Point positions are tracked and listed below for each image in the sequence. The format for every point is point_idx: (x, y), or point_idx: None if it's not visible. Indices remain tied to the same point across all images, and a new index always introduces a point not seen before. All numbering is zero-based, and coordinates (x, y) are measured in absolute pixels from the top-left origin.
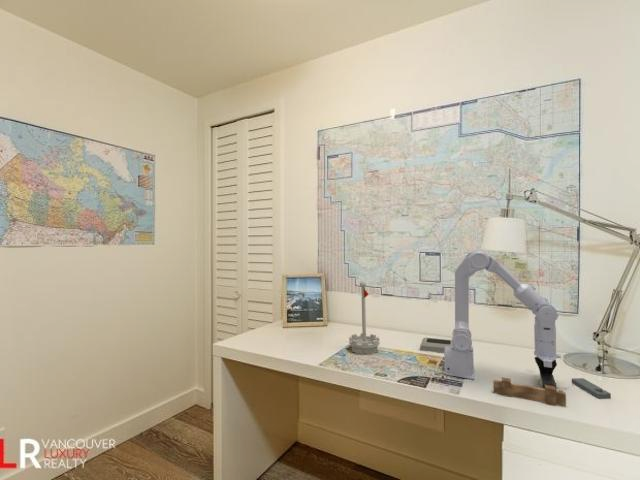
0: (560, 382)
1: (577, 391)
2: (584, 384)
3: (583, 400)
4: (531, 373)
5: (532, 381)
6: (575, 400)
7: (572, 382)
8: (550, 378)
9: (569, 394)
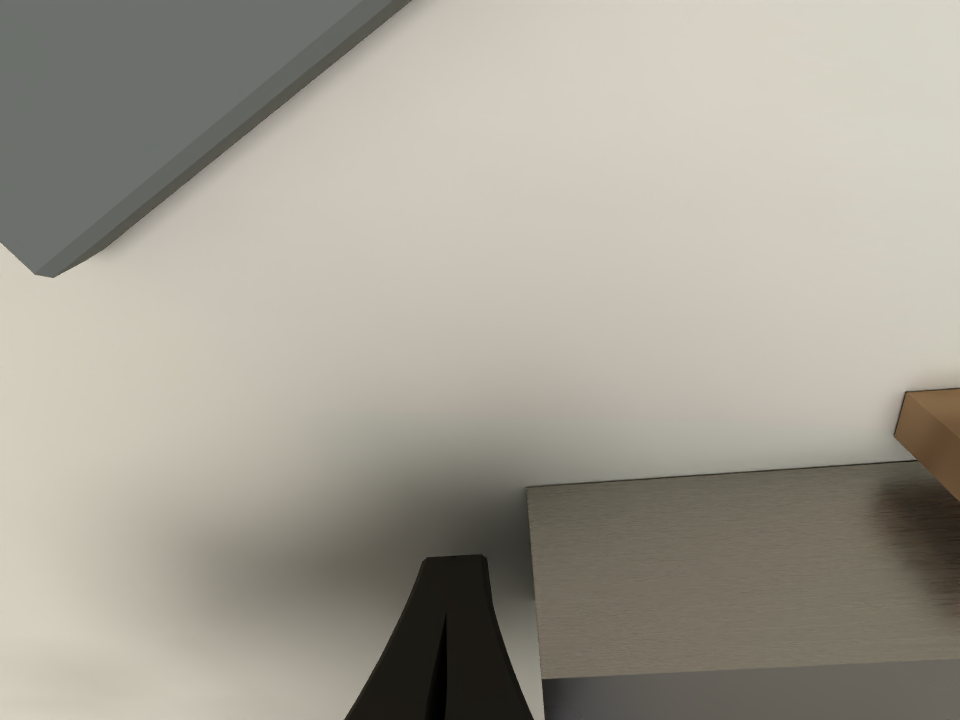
0: (219, 400)
1: (462, 182)
2: (215, 50)
3: (852, 113)
4: (159, 670)
5: None
6: (893, 237)
7: (102, 244)
8: (786, 709)
9: (670, 306)
